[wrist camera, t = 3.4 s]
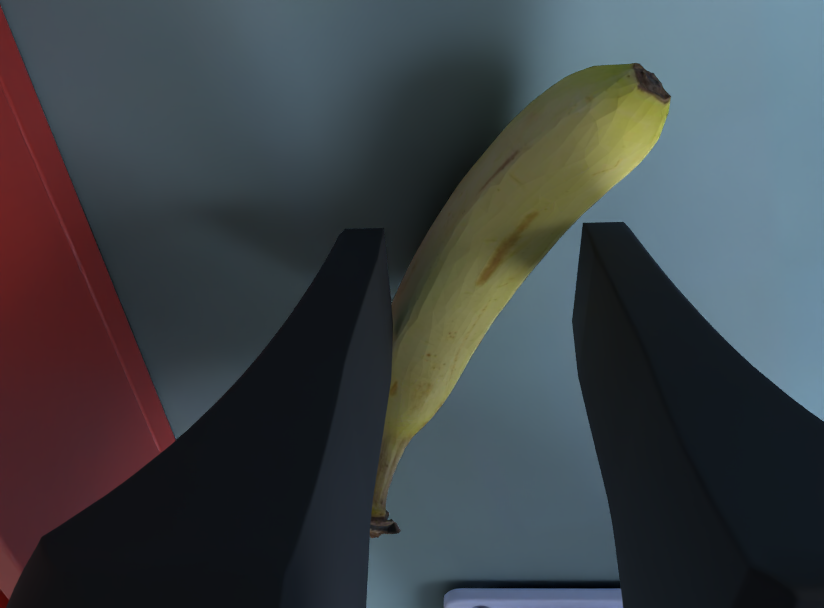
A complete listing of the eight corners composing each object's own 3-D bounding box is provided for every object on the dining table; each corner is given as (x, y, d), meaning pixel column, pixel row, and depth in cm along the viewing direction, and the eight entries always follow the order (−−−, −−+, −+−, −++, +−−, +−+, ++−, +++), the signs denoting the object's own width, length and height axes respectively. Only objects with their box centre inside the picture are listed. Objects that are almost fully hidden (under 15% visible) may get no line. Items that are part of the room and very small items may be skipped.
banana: (416, 381, 16) (412, 556, 13) (338, 354, 16) (315, 530, 13) (666, 39, 11) (747, 197, 8) (563, -16, 11) (612, 132, 8)
